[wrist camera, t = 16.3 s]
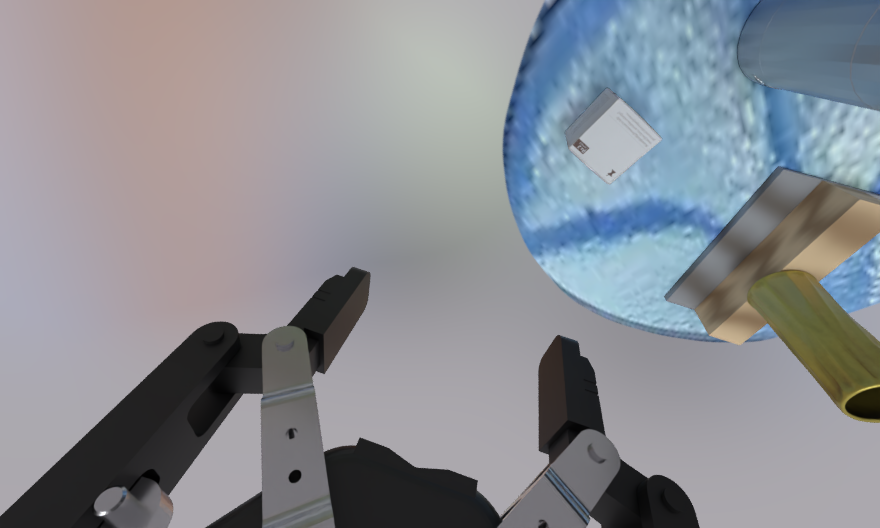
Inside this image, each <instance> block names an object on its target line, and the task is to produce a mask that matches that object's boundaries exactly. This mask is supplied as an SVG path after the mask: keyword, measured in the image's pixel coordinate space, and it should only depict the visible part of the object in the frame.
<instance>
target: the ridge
mask: <svg viewBox="0 0 880 528" xmlns="http://www.w3.org/2000/svg"><path fill="white" fill-rule="evenodd" d="M879 232H880V195H879V194H875V193H872V192H868V191H865V190H861V189H857V188H854V187H850V186H847V185H843V184H839V183H836V182H832V181H829V180H825V179H822V178H818V177H814V176H811V175H807V174H804V173H800V172H796V171H793V170H789V169H786V168H782V167H778V168H777V169H776V170H775V171H774V172H773V173H772V174H771V176H770V177H769V178H768V179H767V180H766V181H765V182H764V184H763V185H762V186H761V187H760V188H759V189H758V190H757V191H756V193H755V194H754V195H753V196H752V197H751V198H750V199H749V201H748V202H747V203H746V204H745V205H744V206H743V207H742V209H741V210H740V211H739V212H738V213H737V214H736V215H735V217H734V218H733V219H732V220H731V221H730V222H729V223H728V225H727V226H726V227H725V228H724V229H723V230H722V231H721V233H720V234H719V235H718V236H717V237H716V238H715V239H714V241H713V242H712V243H711V244H710V245H709V246H708V247H707V248H706V250H705V251H704V252H703V253H702V254H701V255H700V256H699V258H698V259H697V260H696V261H695V262H694V263H693V264H692V266H691V267H690V268H689V269H688V270H687V271H686V272H685V274H684V275H683V276H682V277H681V278H680V279H679V280H678V282H677V283H676V284H675V285H674V286H673V287H672V288H671V290H670V291H669V292H668V293H667V294H666V295H665V296H664V297H665V299H666V301H668V302H671V303H674V304H678V305H681V306H684V307H687V308H690V309H694V310H695V312H696V313H697V315H698V317H699V319H700V320H701V322H702V324H703V326H704V327H705V329H706V331H707V333H708V334H709V336H712V337H715V338H719V339H722V340H725V341H728V342H731V343H735V344H737V345H741V344H742V343H744V342H745V341H746V340H747V339H748V338H750V337H751V336H752V335H753V334H755V333H756V332H757V331H758V330H760V329H761V328H762V327H763V326H765V325H766V324H767V322H766V321H765V319H764V318H763V317H762V316H761V315H760V314H759V313H758V312H757V311H756V310H755V309H754V308H753V307H752V306H751V305H750V304H749V303H748V301H747V294H748V291H749V289H750V288H751V286H752V285H753V284H754V283H755V282H756V281H758V280H759V279H761V278H763V277H765V276H767V275H769V274H772V273H775V272H780V271H790V270H796V271H803V272H807V273H809V274H811V275H813V276H814V277H815V278H816V279H817V281H818V282H819V281H820V280H821V279H823V278H824V277H825V276H826V275H828V274H829V273H830V272H831V271H832V270H834V269H835V268H836V267H837V266H839V265H840V264H841V263H842V262H844V261H845V260H846V259H847V258H848V257H850V256H851V255H852V254H853V253H855V252H856V251H857V250H858V249H860V248H861V247H862V246H863V245H865V244H866V243H867V242H868V241H869V240H871V239H872V238H873V237H874V236H876V235H877V234H878V233H879Z"/></svg>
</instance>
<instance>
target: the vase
mask: <svg viewBox="0 0 880 528" xmlns="http://www.w3.org/2000/svg"><path fill="white" fill-rule="evenodd" d="M747 301H748V303H749V304H750V305H751V306H752V307H753V308H754V309H755V310H756V311H757V312H758V313H759V314H760V315H761V316H762V317H763V318H764V319H765V321H766V322H767V323H768V324H769V325H770V327H771V328H772V329H773V330H774V332H775V333H776V334H777V335H778V336H779V338H780V339H781V340H782V341H783V342H784V343H785V344H786V346H787V347H788V348H789V349H790V350H791V352H792V353H793V354H794V355H795V356H796V357H797V358H798V360H799V361H800V362H801V363H802V364H803V365H804V367H805V368H806V369H807V370H808V371H809V372H810V374H811V375H812V376H813V377H814V378H815V380H816V381H817V382H818V383H819V384H820V386H821V387H822V388H823V389H824V391H825V392H826V393H827V394H828V395H829V396H830V398H831V399H832V401H833V402H834V403H835V404H836V405H837V407H838V408H839V409H840V410H841V411H842V412H843V413H844V414H845V415H847V416H849V417H851V418H853V419H856V420H859V421H864V422H874V423H880V342H879V341H878V340H877V339H876V338H875V337H874V336H873V335H871V334H870V333H869V332H868V331H867V330H866V329H864V328H863V327H862V326H861V325H860V324H858V323H857V322H856V321H855V320H854V319H853V318H851V317H850V316H849V314H848V313H847V312H846V311H845V310H844V309H843V308H842V307H841V306H840V305H839V304H838V303H837V302H836V301H835V300H834V299H833V297H832V296H831V295H830V294H829V293H828V292H827V291H826V290H825V289H824V288H823V286H822V285H821V284H820V283H819V282H818V281H817V279H816V278H815V277H814V276H813V275H811V274H809V273H807V272H803V271H796V270H790V271H780V272H775V273H772V274H769V275H767V276H765V277H763V278H761V279H759V280H758V281H756V282H755V283H754V284H753V285H752V286H751V288H750V289H749V291H748V294H747Z"/></svg>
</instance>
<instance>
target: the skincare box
mask: <svg viewBox="0 0 880 528" xmlns="http://www.w3.org/2000/svg"><path fill="white" fill-rule="evenodd" d="M565 135H566V139H567V144H568V148H569V150H570V151H571V152H572V153H573V154H574V155H575V156H576V157H578V158H579V159H580V160H581V161H582V162H583V163H584V164H585V165H586V166H587V167H588V168H589V169H591V170H592V171H593V172H594V173H595V174H596V175H597V176H599V177H600V178H601V179H602V180H603V181H604V182H606V183H607V184H611V183H612V182H613V181H615V180H616V179H617V178H618V177H619V176H620V175H621V174H623V173H624V172H625V171H626V170H627V169H628V168H629V167H631V166H632V165H633V164H634V163H635V162H636V161H637V160H639V159H640V158H641V157H642V156H643V155H645V154H646V153H647V152H648V151H649V150H651V149H652V148H653V147H654V146H655V145H657V144H658V143H659V142H660V141H661V140H662V138H661V137H660V136H659V135H658V133H657V132H656V131H655V130H654V129H653V128H652V127H651V126H650V125H649V124H648V123H647V122H646V121H645V120H644V119H643V118H642V117H641V116H640V115H639V114H638V113H637V112H636V111H635V110H634V109H632V108H631V107H630V106H629V105H628V104H627V103H626V102H625V101H623V100H622V99H621V98H620V97H618V96H617V95H616V94H615V93H614V92H613V91H611V90H610V89H609V88H606V89H605V90H604V91H603V92H602V93H601V94H600V95H599V96H598V97H597V98H596V100H595V101H594V102H593V103H592V104H591V105H590V106H589V107H588V108H587V109H586V110H585V111H584V112H583V113H582V114H581V116H580V117H579V118H578V119H577V120H576V121H575V122H574V123H573V124H572V125H571V126H570V127H569V128H568V129H567V131H566V132H565Z"/></svg>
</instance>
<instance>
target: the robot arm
mask: <svg viewBox="0 0 880 528" xmlns="http://www.w3.org/2000/svg"><path fill="white" fill-rule="evenodd" d="M738 61H739V65H740V68H741V69H742V71H743V73H744V74H745V76H747V77H748V78H749V79H750V80H751V81H753V82H756V83H758V84H761V85H765V86H768V87H771V88H775V89H781V90H786V91H791V92H795V93H800V94H804V95H809V96H813V97H818V98H822V99H827V100H831V101H836V102H840V103H845V104H849V105H854V106H858V107H863V108H867V109H871V110H876V111H880V0H762V1H761V2H760V3H759V4H758V5H757V6H756V8H755V9H754V11H753V12H752V14H751V15H750V17H749V18H748V20H747V22H746V24H745V26H744V28H743V31H742V33H741V36H740V40H739V44H738ZM369 285H370V272H367V271H364V270H361V269H358V268H355V267H352V268H351V269H350V270H349V272H348V273H347V274H346V275H345V276H344V277H342V276H339V275H335V276H334V277H332V278H330V279H328V280H326V281H325V282H324V283H323V285H322V286H321V287H320V288H319V289H318V291H317V292H316V293H315V294H314V295H313V297H312V298H310V300H309V301H308V302H307V303H306V304H305V305H304V307H303V308H302V309H301V310H300V311H299V312H298V314H297V315H296V316H295V317H294V318H293V320H292V321H291V322H290V323H289V324H288V325H287V326H283V327H279V328H276V329H274V330H272V331H271V332H269V333H268V334H243V333H238V330H237V328H236V327H235V326H234V325H233V324H231V323H228V322H212V323H209V324H206V325H204V326H202V327H200V328H198V329H197V330H196V331H194V332H193V333H192V334H191V335H190V336H189V337H188V338H187V339H186V340H185V341H184V342H183V343H182V344H181V345H180V346H179V347H178V348H176V349H175V350H174V351H173V352H172V353H171V354H170V355H169V356H168V357H167V358H166V359H165V360H164V361H163V362H162V363H161V364H160V365H159V366H158V367H157V368H156V369H155V370H153V371H152V372H151V373H150V374H149V375H148V376H147V377H146V378H145V379H144V380H143V381H142V382H141V383H140V384H139V385H138V386H137V387H136V388H135V389H134V390H132V391H131V392H130V393H129V394H128V395H127V396H126V397H125V398H124V399H123V400H122V401H121V402H120V403H119V404H118V405H117V406H116V407H115V408H114V409H113V410H111V411H110V412H109V413H108V414H107V415H106V416H105V417H104V418H103V419H102V420H101V421H100V422H99V423H98V424H97V425H96V426H95V427H94V428H93V429H91V430H90V431H89V432H88V434H86V435H85V436H84V437H83V438H82V439H81V440H80V441H79V442H78V443H77V444H76V445H75V446H74V447H73V448H72V449H71V450H70V451H69V452H68V453H66V454H65V455H64V456H63V457H62V458H61V459H60V460H59V461H58V462H57V463H56V464H55V465H54V466H53V467H52V468H51V469H50V470H49V471H47V472H46V473H45V474H44V475H43V476H42V477H41V478H40V479H39V480H38V481H37V482H36V483H35V484H34V485H33V486H32V487H31V488H30V489H29V490H28V491H27V492H25V493H24V494H23V495H22V496H21V497H20V498H19V499H18V500H17V501H16V502H15V503H14V504H13V505H12V506H11V507H10V508H9V509H8V510H7V511H5V513H3V514H2V515H1V516H0V528H167V527H168V525H169V523H170V521H171V518H172V515H173V503H172V500H171V499H170V497H169V496H168V495H169V494H170V493H171V491H172V490H173V488H174V487H175V486H176V484H177V483H178V482H179V480H180V479H181V478H182V476H183V475H184V474H185V472H186V471H187V469H188V468H189V467H190V465H191V464H192V463H193V461H194V460H195V459H196V457H197V456H198V455H199V453H200V452H201V450H202V449H203V448H204V446H205V445H206V444H207V442H208V441H209V440H210V438H211V437H212V435H213V434H214V433H215V431H216V430H217V429H218V427H219V426H220V425H221V423H222V422H223V421H224V419H225V418H226V417H227V415H228V414H229V412H230V411H231V410H232V408H233V407H234V406H235V404H236V403H237V402H238V400H239V399H240V398H241V396H242V395H243V393H245V394H246V393H250V394H263V398H262V399H261V448H262V450H261V452H262V491H261V492H260V493H258V494H257V495H256V496H254V497H252V498H251V499H249V500H248V501H246V502H244V503H243V504H241V505H240V506H238V507H237V508H235V509H234V510H232V511H231V512H229V513H227V514H226V515H224V516H223V517H221V518H220V519H218V520H217V521H215V522H213V523H212V524H210V525H209V526H207V527H206V528H586V527H587V525H588V523H589V521H590V518H589V515H590V516H591V517H592V518H594V519H595V520H596V521H598V522H599V523H600V524H601V526H602V528H700V527H699V524H698V520H697V517H696V513H695V510H694V507H693V505H692V503H691V501H690V499H689V498H688V496H687V495H686V494H685V492H684V491H683V490H682V489H681V488H680V487H679V486H678V485H677V484H676V483H675V482H674V481H672V480H671V479H669V478H667V477H665V476H662V475H654V476H651V477H650V478H647V477H645V476H644V475H642V474H641V473H639V472H638V471H637V470H635V469H634V468H632V467H631V466H629V465H628V464H626V463H625V462H624V461H622V460H621V459H620V457H619V454H618V452H617V449H616V448H615V447H614V445H613V443H612V442H611V441H610V440H609V439H608V438H607V437H606V435H605V431H604V425H603V419H602V413H601V407H600V402H599V396H598V389H597V386H596V378H595V372H594V369H593V368H592V366H591V364H590V362H589V360H588V359H587V358H585V357H582V356H580V351H579V343H578V342H577V341H575V340H572V339H569V338H566V337H563V336H560V335H557V336H556V338H555V339H554V340H553V342H552V344H551V345H550V346H549V348H548V350H547V351H546V352H545V354H544V356H543V357H542V359H541V362H540V365H539V375H538V376H539V451H540V452H543V453H546V454H549V464H548V465H547V466H546V467H545V468H544V469H543V471H541V472H540V474H539V475H538V476H537V477H536V478H535V479H534V480H533V481H532V483H531V484H530V485H529V486H528V487H527V488H526V489H525V490H524V491H523V492H522V494H521V495H520V496H519V497H518V498H517V499H516V500H515V501H514V502H513V503H512V504H511V505H510V506H509V507H508V508H507V509H506V511H505V512H504V513H503V514H502V515H501V516H499V515H498V513H497V512H496V511H495V509H494V507H493V506H492V505H491V504H490V502H489V501H488V500H487V499H486V498H485V497H484V496H483V495H482V494H481V493H479V492H478V491H477V482H478V481H477V480H475V479H472V478H469V477H467V476H464V475H461V474H458V473H456V472H453V471H450V470H444V469H428V468H416V467H414V466H412V465H411V464H410V463H408V462H407V461H406V460H404V459H403V458H401V457H400V456H399V455H397V454H396V453H395V452H393V451H392V450H390V449H389V448H387V447H384V446H382V445H379V444H376V443H374V442H371V441H368V440H365V439H363V438H359V441H358V443H357V445H356V446H341V447H337V448H333V449H330V450H327V451H325V452H323V444H322V437H321V430H320V423H319V417H318V409H317V402H316V395H315V389H314V386H313V380H312V377H313V375H314V374H315V372H316V371H318V372H320V373H323V374H325V372H326V371H327V369H328V368H329V366H330V364H331V363H332V361H333V360H334V358H335V356H336V355H337V353H338V352H339V350H340V348H341V347H342V345H343V344H344V342H345V340H346V339H347V337H348V336H349V334H350V332H351V331H352V329H353V328H354V326H355V324H356V322H357V321H358V320H359V318H360V316H361V315H362V313H363V311H364V310H365V307H366V305H367V301H368V296H369Z"/></svg>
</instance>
